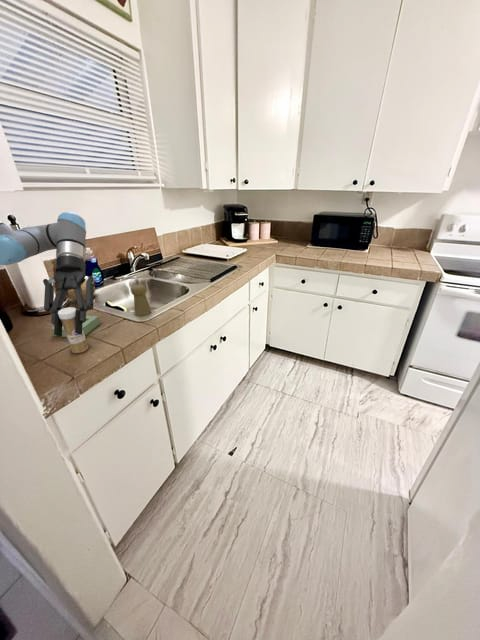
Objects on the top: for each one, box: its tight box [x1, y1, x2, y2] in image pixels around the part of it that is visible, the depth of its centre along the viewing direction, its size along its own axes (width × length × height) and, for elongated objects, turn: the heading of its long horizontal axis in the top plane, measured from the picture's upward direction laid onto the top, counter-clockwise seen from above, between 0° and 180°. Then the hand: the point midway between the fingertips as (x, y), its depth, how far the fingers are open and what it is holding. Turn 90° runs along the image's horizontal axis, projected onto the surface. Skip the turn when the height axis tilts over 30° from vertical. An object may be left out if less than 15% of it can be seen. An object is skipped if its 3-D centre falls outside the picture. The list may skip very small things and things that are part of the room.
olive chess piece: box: [130, 284, 152, 317], centre depth 99 cm, size 6×6×11 cm
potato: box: [67, 280, 96, 302], centre depth 111 cm, size 10×14×8 cm
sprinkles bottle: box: [58, 306, 89, 354], centre depth 76 cm, size 5×5×13 cm
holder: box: [51, 315, 101, 338], centre depth 89 cm, size 10×10×3 cm
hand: (68, 334), depth 72 cm, fingers closed on sprinkles bottle, 5 cm apart
